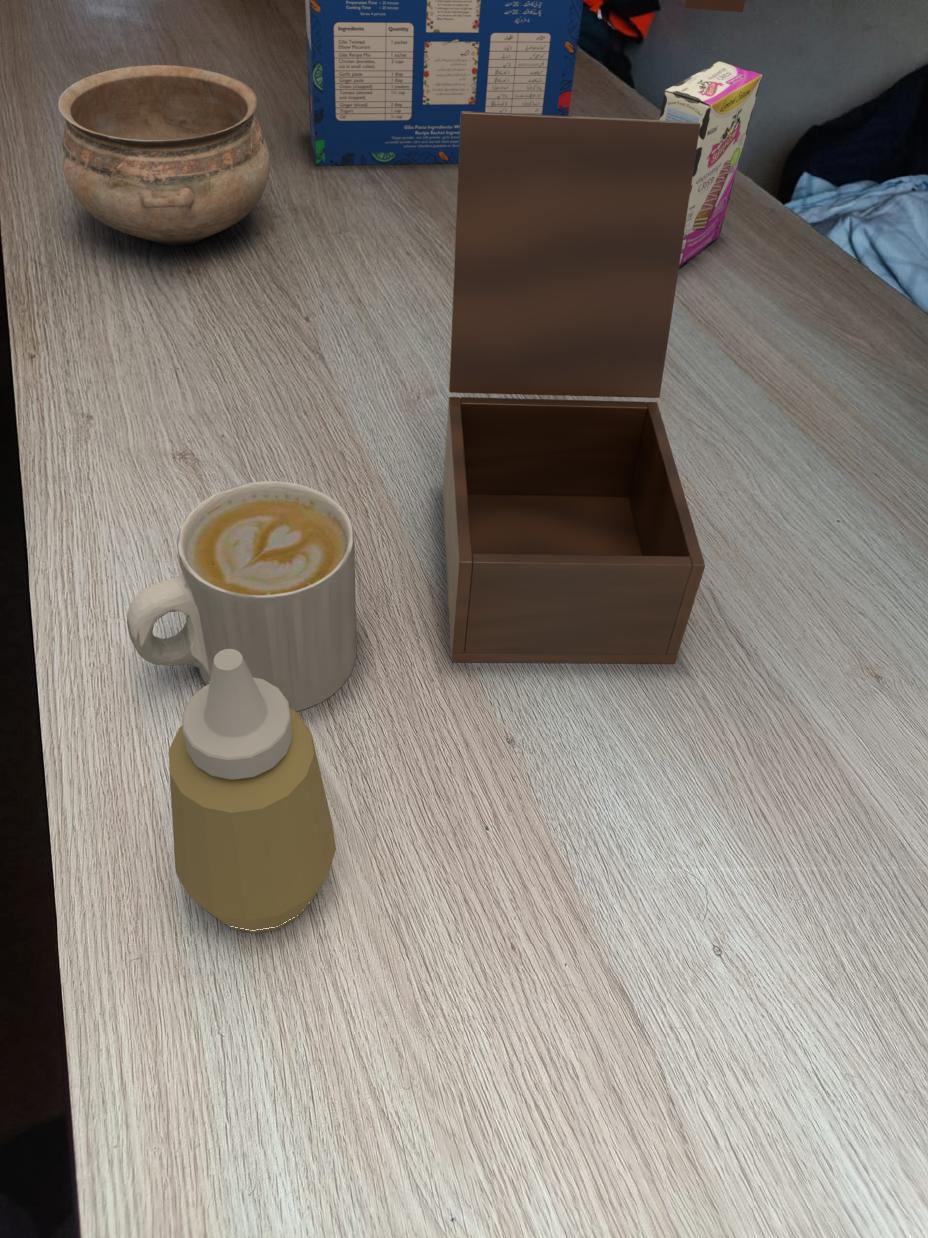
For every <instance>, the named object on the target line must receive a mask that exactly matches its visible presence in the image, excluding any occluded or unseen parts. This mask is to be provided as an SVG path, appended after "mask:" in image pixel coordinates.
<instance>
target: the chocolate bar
mask: <svg viewBox="0 0 928 1238" xmlns="http://www.w3.org/2000/svg"><path fill="white" fill-rule="evenodd" d="M680 2H681V4H682V6H683V8H684V9H687V10H701V11H702V10H703V11H716V12H732V13H733V12H734V13H743V12H744V8H745V6H746V0H680Z"/></svg>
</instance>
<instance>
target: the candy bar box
mask: <svg viewBox="0 0 928 1238" xmlns="http://www.w3.org/2000/svg"><path fill="white" fill-rule="evenodd" d="M762 78H763V74H762V73H758V72H755V71H753V70H750V69H747V68H743V67H741V66H738V65H733V64H729V63H726V62H723V61H717V62H715V63H713V64H712V65H710V66H708V67H706V68H704V69H702V70H700V71H698V72H697V73H695V74H693V75H691V76H689V77H687V78H686V79H683V80H682V81H680V82H678V83H676V84H674V85H672V86H670V87H669V88H666V89H664V95H663V99H662V105H661V111H660V115H659V119H658V120H665V121H686V122H698V123H700V130H699V137H698V143H697V150H696V157H695V164H694V170H693V177H692V184H691V190H690V197H689V204H688V210H687V217H686V224H685V231H684V237H683V244H682V251H681V257H680V264H679V269H680V268H681V267H682V266H684V265H685V264H686V263H687V262H688V261H690V260H691V259H692V258H694V257H695V256H696V255H697V254H699V253H700V252H702V251H703V250H704V249H705V248H706V247H708V246H709V245H711V244H712V243H713V242H715V241H716V240H717V239H718V238H720V235H721V232H722V228H723V224H724V221H725V217H726V213H727V210H728V209H727V208H728V207H729V206H728V205H729V202H730V197H731V193H732V189H733V186H734V181H735V179H736V174H737V171H738V167H739V164H740V160H741V156H742V151H743V148H744V145H745V142H746V137H747V135H748V130H749V126H750V123H751V119H752V115H753V111H754V108H755V103H756V100H757V96H758V93H759V88H760V84H761V82H762Z"/></svg>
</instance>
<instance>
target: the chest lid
mask: <svg viewBox="0 0 928 1238" xmlns="http://www.w3.org/2000/svg"><path fill="white" fill-rule="evenodd" d="M699 130H700V123H698V122H686V121H665V120H659V119H643V118H642V119H637V118H622V117H621V118H619V117H596V116H579V115H578V116H577V115H569V116H557V115H535V114H514V113H492V112H471V111H461V116H460V139H459V163H458V166H457V187H456V188H457V191H456V212H455V213H456V214H455V234H454V235H455V238H454V257H453V259H454V260H453V281H452V282H453V283H452V304H451V305H452V307H451V327H450V329H451V330H450V331H451V333H450V352H449V353H450V355H449V374H448V375H449V376H448V377H449V378H448V392H449V393H451V394H483V395H484V394H485V395H486V394H487V395H488V394H489V395H522V396H523V395H525V396H526V395H529V396H561V397H563V396H565V397H566V396H567V397H603V398H639V399H642V398H643V399H659V398H660V397H661V390H662V384H663V377H664V371H665V364H666V357H667V350H668V345H669V344H668V343H669V338H670V330H671V324H672V317H673V310H674V305H675V297H676V290H677V284H678V276H679V271H680V268H679V264H680V257H681V251H682V244H683V237H684V231H685V224H686V217H687V210H688V204H689V197H690V190H691V184H692V177H693V170H694V164H695V157H696V150H697V143H698V137H699Z"/></svg>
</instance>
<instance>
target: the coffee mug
mask: <svg viewBox="0 0 928 1238" xmlns="http://www.w3.org/2000/svg"><path fill="white" fill-rule="evenodd" d="M176 542H177V544H176V547H177V556H178V561H179V565H180V569H181V574H180V575H177V576H176V577H172V578H168V579H166V580H162V581H158V582H156V583H153V584H151V585H149V586H147V587H145V588H143V589H142V590H141V591H139V592H138V593H137V594H135V596H134V598H132V600H131V602H130V603H129V606H128V608H127V609H128V610H127V614H126V624H127V631H128V634H129V638H130V641H131V643H132V645H133V647H134V649H135V651H136V652H137V653H138V655H139V656H140V657H141V658H142V659H143V660H144V661H146V662H148V663H150V664H152V665H154V666H161V667H162V666H163V667H173V666H185V665H187V666H194V667H196V668H197V669H198V671H199V674H200V676H201V678H202V682H204V684H205V686H206V685H208V684H210V683H209V682H210V678H211V672H212V666H213V660H214V657H215V655H216V654H217V653H218V652H220V651H222V650H224V649H234V650H237V651H238V652H240V653H241V655H242V656H243V658H244V660H245V663H246V665H247V667H248V669H249V671H250V673H251V675H252V677H253V678H258V679H263V680H265V681H267V682H268V683H270V684H272V685H274V686H275V687H277V688H279V689H280V691H281V692H282V694H283V695H284V696H285V698H286V699H287V701H288V702H289V708H290V709H291V710H293V711H295V712H296V713H297V712H300V711H304V710H307V709H309V708H312V707H314V706H316V705H319V704H321V703H322V702H325V701H326V700H327V699H329V698H331V697H332V696H333V695H334V694H336V693H337V692H338V691H339V690H340V689H341V688H342V687H343V686H344V685H345V683H346V682H347V680H348V679H349V677H350V676H351V674H352V672H353V670H354V668H355V664H356V661H357V660H356V658H357V608H356V606H357V605H356V603H357V602H356V552H355V551H356V550H355V549H356V547H355V544H356V543H355V533H354V529H353V524H352V521H351V520H350V518H349V515H348V514H347V513H346V510H345V509H344V508H343V507H342V506H341V505H340V504H339V503H338V502H337V501H335V500H334V499H332V497H330V496H329V495H326V494H325V493H323V492H322V491H319V490H317V489H314V488H312V487H309V486H306V485H303V484H299V483H294V482H288V481H280V480H279V481H277V480H274V481H273V480H272V481H271V480H264V481H252V482H247V483H242V484H238V485H233V486H231V487H228V488H226V489H223V490H221V491H218V492H215V493H214V494H212V495H211V496H208V497H207V498H205V499H204V500H203V501H201V502H200V503H198V504H197V505H196V506H194V508H193V509H192V510H191V511H190V512H189V513H188V515H187V516H186V517H185V518H184V520H183V522H182V524H181V526H180V527H179V531H178V534H177V541H176ZM176 612H179V613H182V614H184V615H186V617H185V618H186V619H185V620H186V621H185V623H184V625H183V628H182V629H181V630H180V631H179V632H177V633H176V634H175V635H172V636H169V637H166V638H163V637H161V638H160V637H158V636H155V635H154V632H153V631H154V627H155V624H156V623H157V621H158V620H159V619H161V618H162V617H164V616H166V615H167V614H168V613H176ZM208 681H209V682H208Z"/></svg>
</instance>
